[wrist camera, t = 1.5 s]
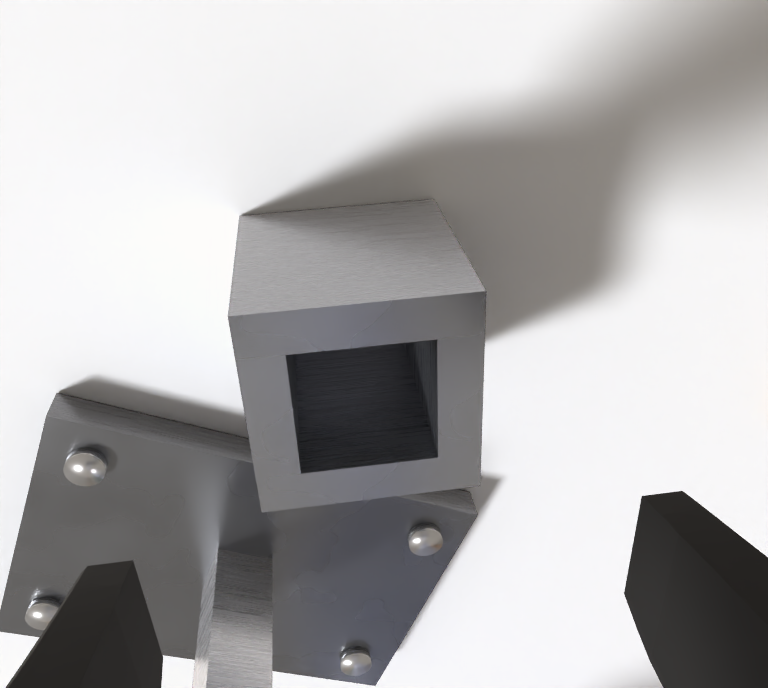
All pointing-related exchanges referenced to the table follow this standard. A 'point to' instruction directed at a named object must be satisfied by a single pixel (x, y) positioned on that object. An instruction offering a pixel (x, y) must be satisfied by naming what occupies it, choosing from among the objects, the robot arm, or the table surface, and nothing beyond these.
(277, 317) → the tube
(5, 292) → the table surface
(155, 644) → the robot arm
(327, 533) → the plate
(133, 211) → the table surface
